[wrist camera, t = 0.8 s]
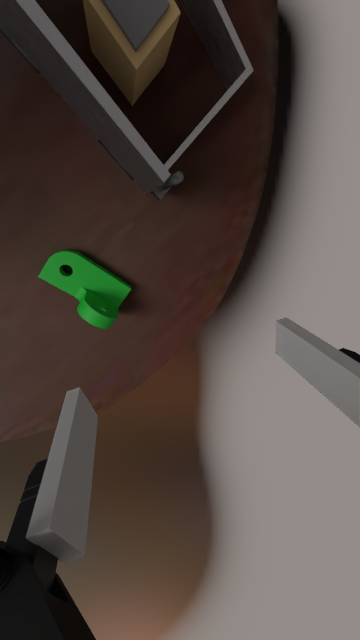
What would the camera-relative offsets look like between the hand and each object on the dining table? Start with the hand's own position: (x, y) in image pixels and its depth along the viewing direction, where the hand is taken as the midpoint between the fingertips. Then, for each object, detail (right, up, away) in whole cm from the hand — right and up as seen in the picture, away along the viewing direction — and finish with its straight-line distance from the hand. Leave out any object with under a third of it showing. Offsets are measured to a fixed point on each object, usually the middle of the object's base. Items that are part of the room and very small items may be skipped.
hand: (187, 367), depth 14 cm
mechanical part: (-15, +10, +22) cm, 28 cm away
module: (-6, +34, +12) cm, 37 cm away
